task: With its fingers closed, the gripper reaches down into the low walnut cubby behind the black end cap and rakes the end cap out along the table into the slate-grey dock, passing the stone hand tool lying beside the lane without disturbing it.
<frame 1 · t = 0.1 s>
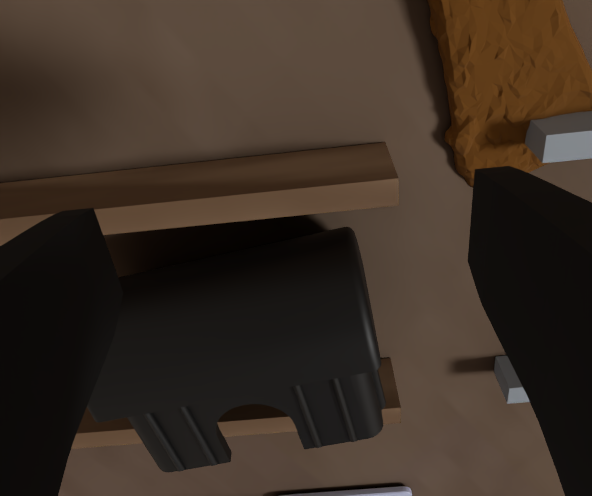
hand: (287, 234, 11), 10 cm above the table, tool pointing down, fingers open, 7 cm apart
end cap: (249, 281, 24), on the table
cubby: (181, 292, 24), on the table
dock: (579, 255, 23), on the table
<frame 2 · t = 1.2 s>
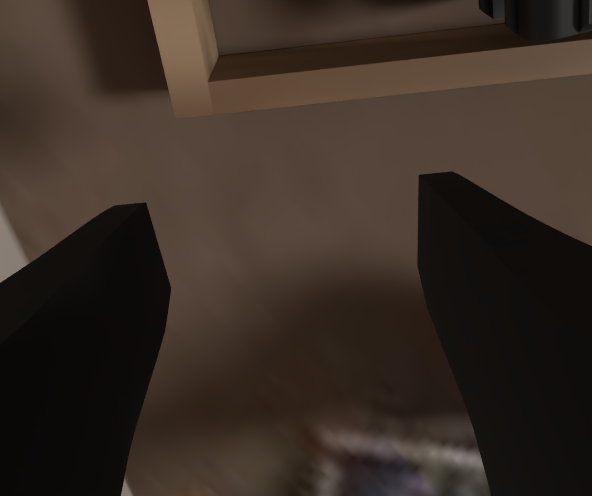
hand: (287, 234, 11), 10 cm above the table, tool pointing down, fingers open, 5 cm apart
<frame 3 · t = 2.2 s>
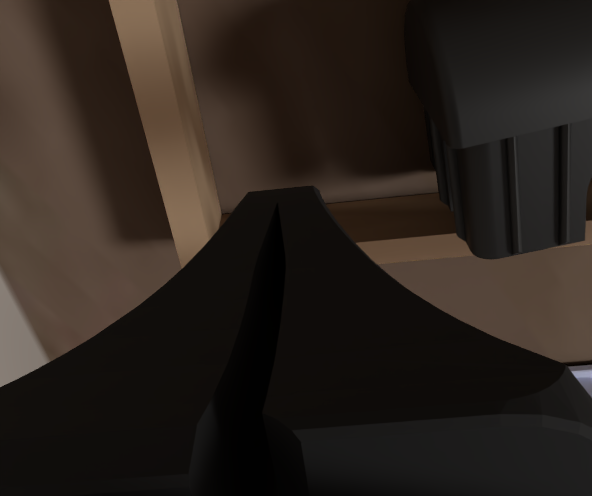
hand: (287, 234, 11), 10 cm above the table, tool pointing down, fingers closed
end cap: (549, 48, 19), on the table
cubby: (464, 60, 19), on the table
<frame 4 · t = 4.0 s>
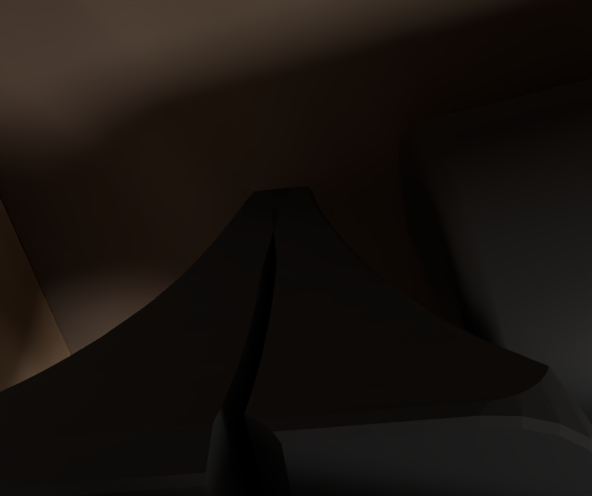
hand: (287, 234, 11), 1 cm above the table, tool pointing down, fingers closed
cubby: (456, 193, 11), on the table
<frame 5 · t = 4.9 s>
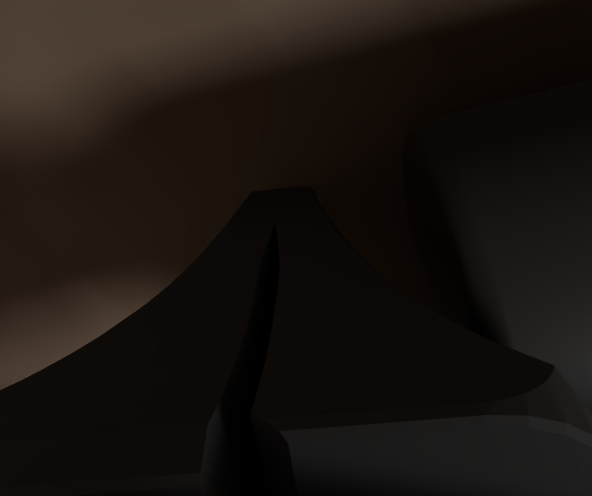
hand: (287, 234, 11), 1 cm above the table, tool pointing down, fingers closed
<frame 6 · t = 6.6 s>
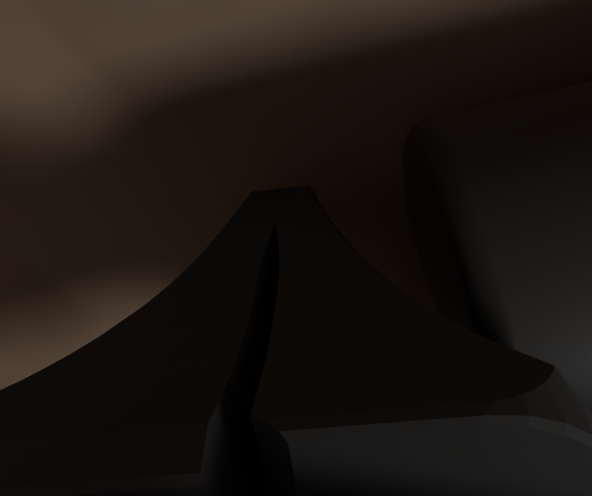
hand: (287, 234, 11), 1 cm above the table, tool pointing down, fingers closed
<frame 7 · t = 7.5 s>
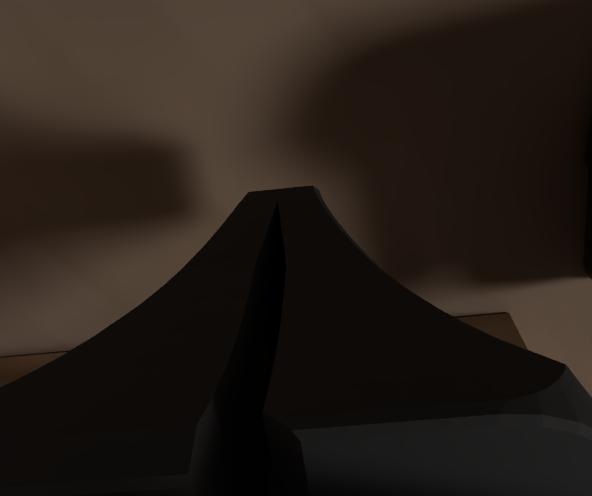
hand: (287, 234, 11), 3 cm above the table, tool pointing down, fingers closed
cubby: (141, 184, 13), on the table
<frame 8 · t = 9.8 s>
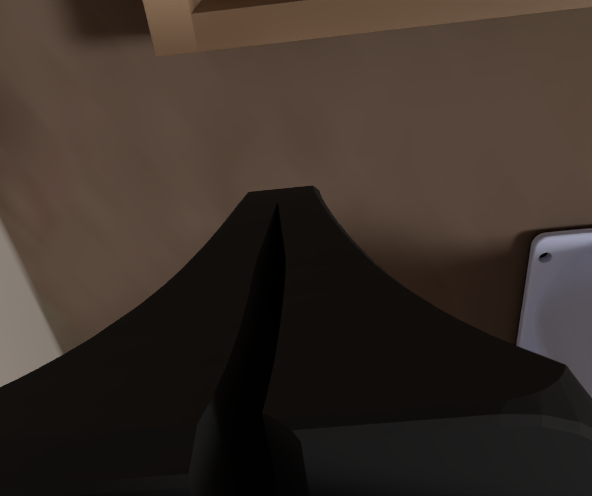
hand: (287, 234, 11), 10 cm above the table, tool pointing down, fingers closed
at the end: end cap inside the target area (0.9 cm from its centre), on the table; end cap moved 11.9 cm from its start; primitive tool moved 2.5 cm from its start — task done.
